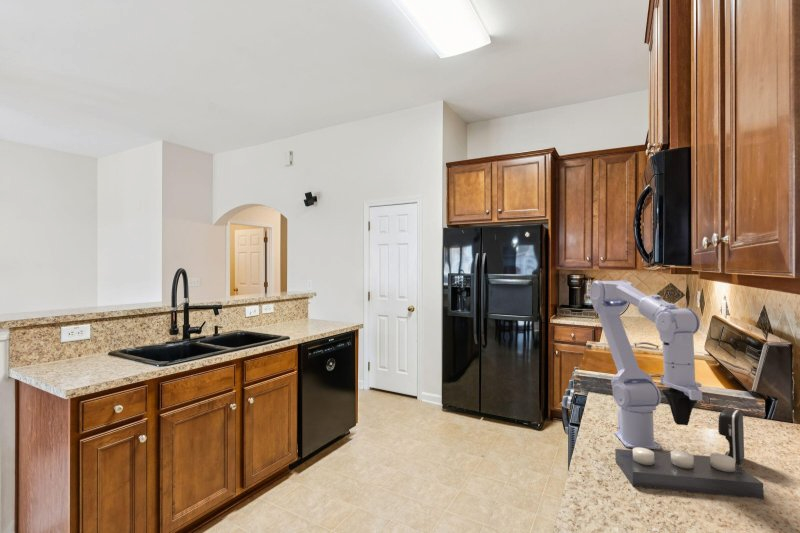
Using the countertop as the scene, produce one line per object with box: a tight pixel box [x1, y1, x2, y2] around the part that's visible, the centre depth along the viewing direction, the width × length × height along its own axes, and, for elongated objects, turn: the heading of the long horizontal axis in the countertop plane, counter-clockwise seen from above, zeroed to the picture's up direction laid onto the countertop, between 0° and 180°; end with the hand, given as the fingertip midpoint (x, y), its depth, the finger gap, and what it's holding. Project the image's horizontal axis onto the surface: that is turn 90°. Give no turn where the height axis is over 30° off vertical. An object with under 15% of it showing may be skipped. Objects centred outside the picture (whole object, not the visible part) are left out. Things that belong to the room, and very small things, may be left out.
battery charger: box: [717, 408, 745, 466], centre depth 92 cm, size 7×4×11 cm, turn 131°
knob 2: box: [709, 452, 735, 472], centre depth 82 cm, size 4×4×5 cm
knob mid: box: [670, 449, 694, 468], centre depth 83 cm, size 4×4×5 cm
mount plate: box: [614, 448, 765, 500], centre depth 83 cm, size 11×23×3 cm, turn 78°
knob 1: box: [632, 447, 655, 465], centre depth 85 cm, size 4×4×5 cm
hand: (681, 423), depth 87 cm, fingers closed
